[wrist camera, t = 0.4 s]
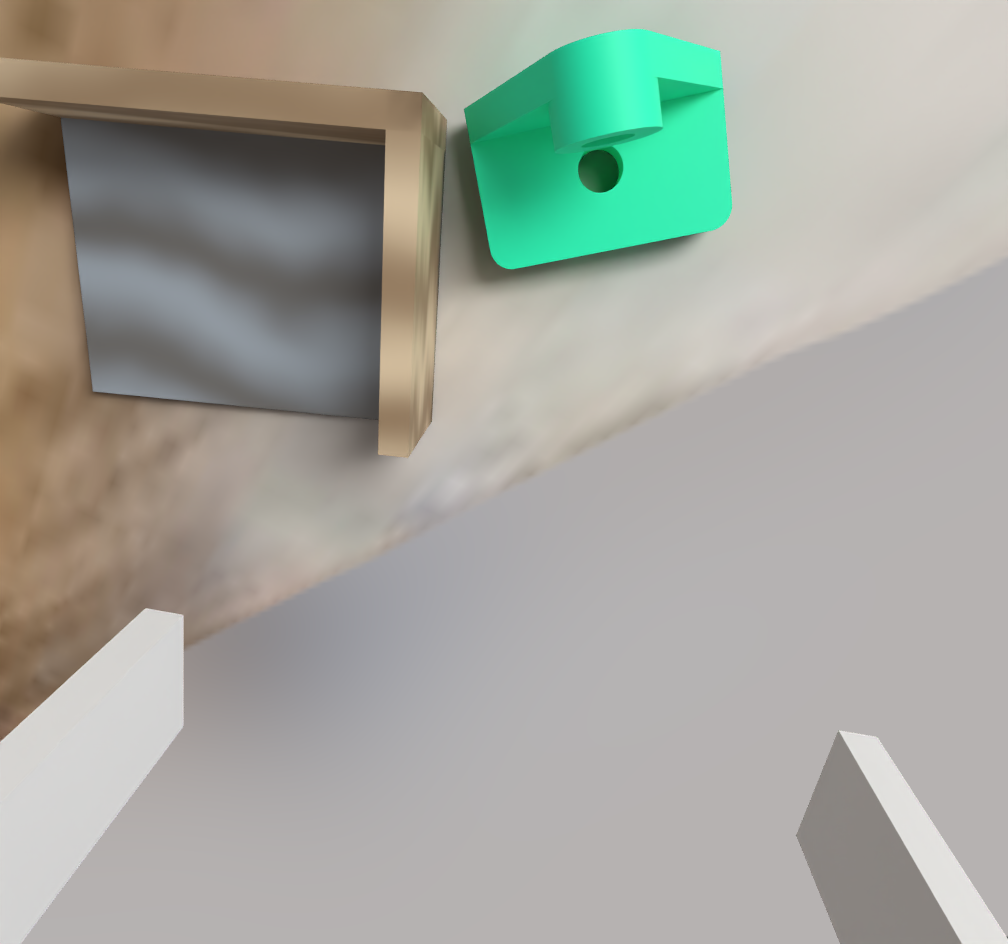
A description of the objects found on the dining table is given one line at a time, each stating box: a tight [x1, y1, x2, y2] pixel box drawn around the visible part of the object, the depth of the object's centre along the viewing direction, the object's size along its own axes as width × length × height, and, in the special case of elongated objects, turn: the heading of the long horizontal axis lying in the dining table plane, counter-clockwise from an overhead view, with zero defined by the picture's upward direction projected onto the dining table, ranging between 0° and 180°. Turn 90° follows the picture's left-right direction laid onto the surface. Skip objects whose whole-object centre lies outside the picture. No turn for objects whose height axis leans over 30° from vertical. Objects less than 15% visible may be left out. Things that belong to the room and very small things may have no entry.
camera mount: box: [464, 29, 732, 269], centre depth 31 cm, size 12×8×10 cm, turn 101°
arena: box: [0, 58, 447, 458], centre depth 34 cm, size 16×20×7 cm
